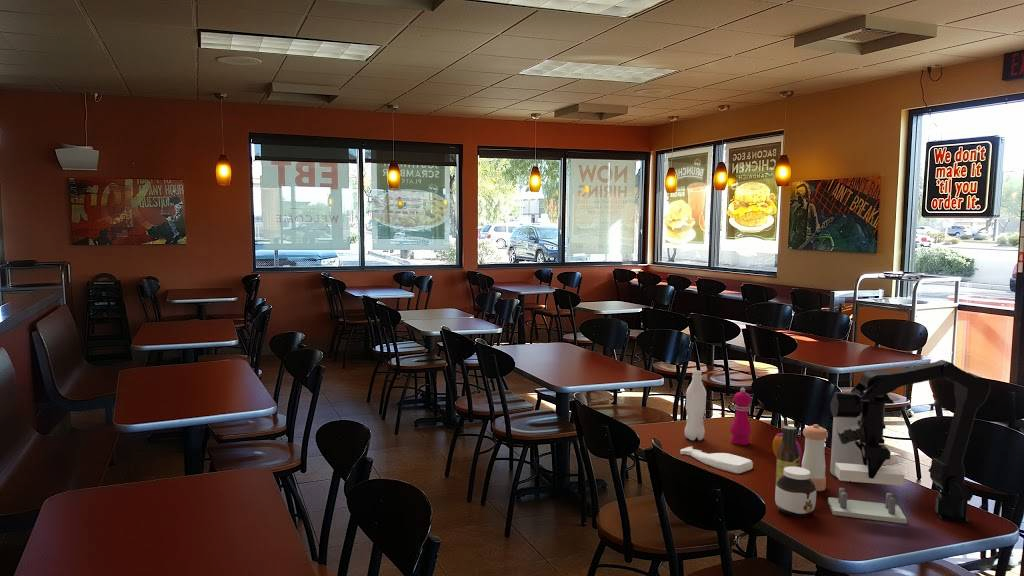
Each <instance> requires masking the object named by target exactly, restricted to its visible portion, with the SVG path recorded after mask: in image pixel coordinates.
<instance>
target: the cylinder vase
mask: <svg viewBox="0 0 1024 576" xmlns="http://www.w3.org/2000/svg"><path fill="white" fill-rule="evenodd" d="M832 417H833V416H832ZM859 419H861V414H860V416H858V417H857V418H844V417H833V421H832V438H831V449H830V450H831V453H830V456H831V457H830V467H829V471H830V474H831V475H832V476H833V477H836V478H837V479H838V477H837V476H836V474H835V463H847V464H860V465H863V460H862V455H861V450H860V449H859V448H858V447H857V446H856V444H855V443H854V442H858V440H857V441H852V442H848V443H847V444H842V443H841V441H840V439H839V436H838V433H837V429H838V428H842V427H847V426H851V425H857V423H858V420H859ZM850 483H853V482H852V481H851V482H850Z"/></svg>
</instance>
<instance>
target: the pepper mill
mask: <svg viewBox="0 0 1024 576" xmlns="http://www.w3.org/2000/svg"><path fill="white" fill-rule="evenodd" d="M739 390H740V391H738V392H736V393H735V394H734V396H733V402H734V403H735V404H734V409H735V415H734V419H733V421H732V423H731V426H730V431H729V432H730V433H731V435H732V436H731V443H733V444H734V443H735V445H738V444H739V446H747V444H748V445H749V444H750V443H751V442H750V440H751V439H750V435H752V426H751V424H750V420H749V415H748V414H749V413H748V412H749V411H750V405H751V402H752V397H751V395H750V394H749V393H748V392H747V391H746V388H745V387H741V388H740V389H739Z"/></svg>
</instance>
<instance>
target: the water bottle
mask: <svg viewBox="0 0 1024 576" xmlns="http://www.w3.org/2000/svg"><path fill="white" fill-rule="evenodd" d="M691 378H692V379H691V382H690V384H689V385H688V387H687V389H686V392H685V393H686V394H685V395H686V397H685V410H686V417H687V418H686V425H685V427H684V436H685V438H686V439H689V440H690V441H695V440H696V439H697V441H702V440H703V438H704V437H705V434H706V433H705V432H706V430H705V427H704V426H705V425H704V415H705V413H706V410H707V408H706V404H707V390H706V388H705V386H704V384H703V381H702V378H703V377H702V370H697V369H695V370H693V371H692V376H691Z"/></svg>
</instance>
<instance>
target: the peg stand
mask: <svg viewBox="0 0 1024 576" xmlns="http://www.w3.org/2000/svg"><path fill="white" fill-rule="evenodd" d="M893 496H894V494H893V493H890V492H887V493H886V494H885V503H882V502H874V501H864V500H856V499H855V500H854V499H849V498H848V493H847V492H846V488H844V487H839V488H838V497H828V498H827V504H828V505H830V506H829V508H830V511H831V513H832V515H833V516H840V517H848V518H849V517H850V518H856V519H865V520H873V521H880V522H881V521H883V522H891V523H897V524H898V523H899V524H907V518H906V516H905V514H904V513H903V511H902V509H901V507H900V506H899V505H898V504H896V502H897V500H896V498H894V497H893Z"/></svg>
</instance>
